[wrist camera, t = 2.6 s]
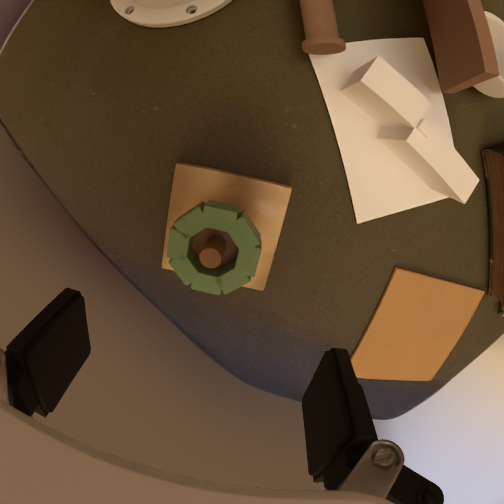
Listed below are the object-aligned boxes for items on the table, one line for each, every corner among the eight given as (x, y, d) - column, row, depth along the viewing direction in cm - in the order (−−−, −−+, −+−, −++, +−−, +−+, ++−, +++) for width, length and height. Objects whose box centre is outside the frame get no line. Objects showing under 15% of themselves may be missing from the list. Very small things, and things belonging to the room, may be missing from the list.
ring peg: (165, 262, 26) (139, 300, 20) (179, 161, 22) (150, 172, 16) (263, 284, 26) (263, 330, 20) (291, 185, 23) (301, 205, 17)
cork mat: (340, 374, 30) (341, 376, 30) (394, 266, 25) (396, 268, 25) (429, 378, 31) (430, 380, 31) (483, 290, 26) (485, 291, 25)
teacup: (510, 100, 17) (543, 92, 12) (466, 110, 18) (503, 99, 13) (467, 14, 15) (493, -5, 10) (416, 14, 16) (441, -13, 11)
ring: (169, 272, 21) (163, 282, 20) (180, 193, 19) (173, 198, 17) (248, 290, 22) (247, 302, 20) (268, 212, 19) (269, 219, 18)
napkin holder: (461, 193, 22) (499, 210, 16) (357, 225, 23) (382, 251, 18) (422, 36, 16) (457, 19, 11) (304, 50, 18) (316, 25, 13)
